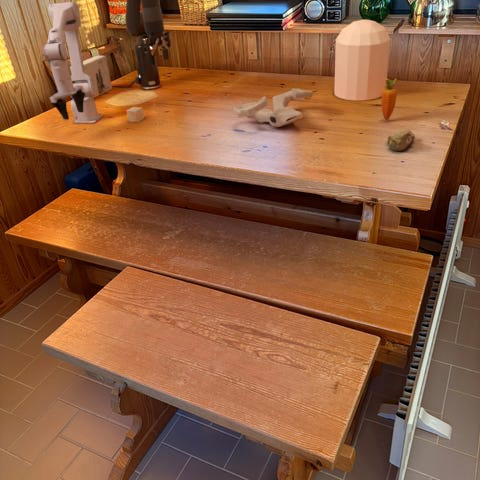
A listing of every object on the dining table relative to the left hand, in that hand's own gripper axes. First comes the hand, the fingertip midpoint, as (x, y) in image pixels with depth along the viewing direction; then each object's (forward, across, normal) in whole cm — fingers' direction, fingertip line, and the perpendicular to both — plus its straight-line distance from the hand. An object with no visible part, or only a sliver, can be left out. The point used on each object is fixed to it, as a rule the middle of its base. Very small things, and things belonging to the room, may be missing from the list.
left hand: (73, 115), depth 173 cm
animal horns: (+8, +33, -70) cm, 77 cm away
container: (+8, +75, -87) cm, 115 cm away
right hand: (-10, +39, -14) cm, 43 cm away
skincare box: (+8, +43, +32) cm, 54 cm away
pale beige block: (+8, +22, -10) cm, 26 cm away
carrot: (+8, +47, -105) cm, 115 cm away
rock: (+8, +27, -115) cm, 118 cm away
